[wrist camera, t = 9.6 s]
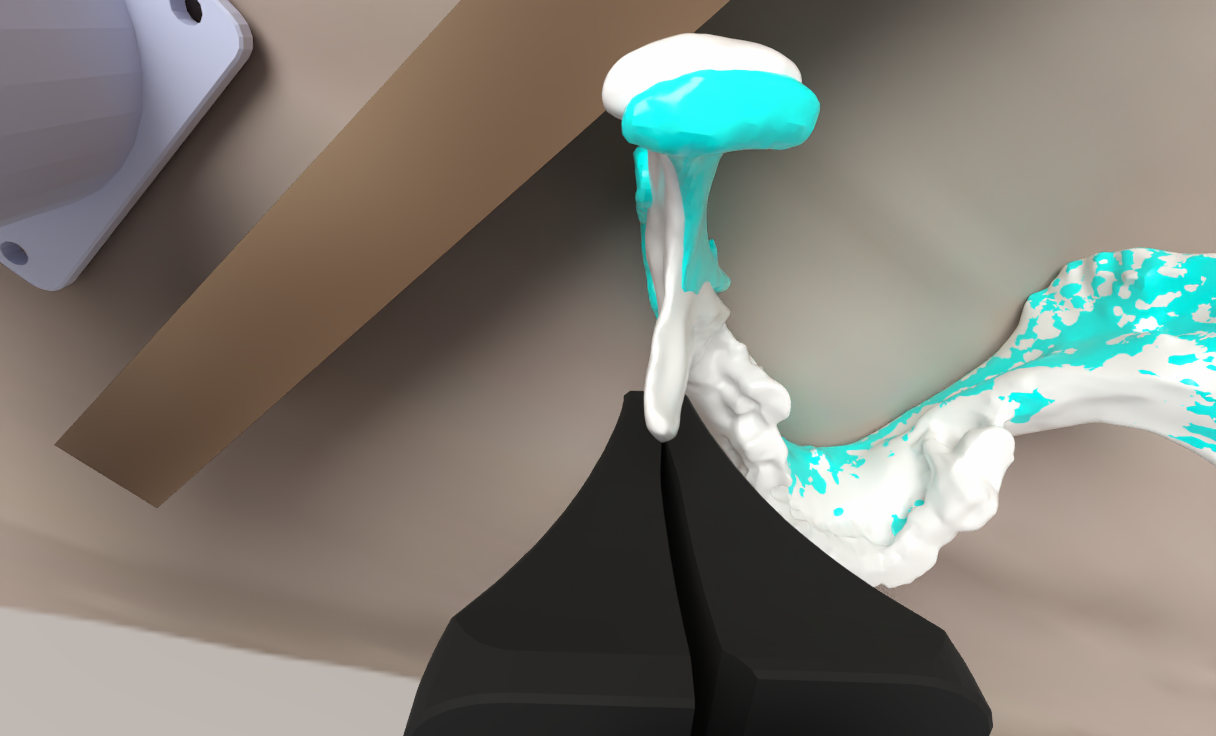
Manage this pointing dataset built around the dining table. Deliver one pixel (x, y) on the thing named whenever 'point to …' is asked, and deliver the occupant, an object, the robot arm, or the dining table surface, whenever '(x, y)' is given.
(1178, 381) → the jawbone
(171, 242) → the dining table surface
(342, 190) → the cleat board
